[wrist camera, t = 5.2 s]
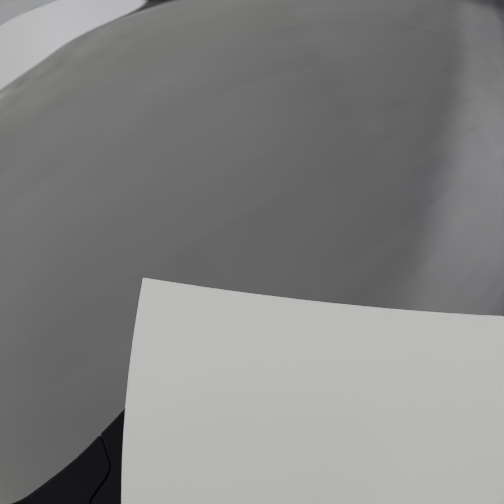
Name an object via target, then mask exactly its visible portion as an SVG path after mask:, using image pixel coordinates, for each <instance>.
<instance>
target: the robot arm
mask: <svg viewBox="0 0 504 504" xmlns="http://www.w3.org/2000/svg"><path fill="white" fill-rule="evenodd" d="M124 417H125V409H124V410H123V411H122V412H121V413H120V414H119V415H118V417H117V418H116V419H115V420H114V421H113V422H112V423H111V424H110V425H109V426H108V427H107V428H106V429H105V430H104V431H103V432H102V433H101V436H102V437H101V436H98V437H97V438H96V439H95V440H94V441H93V443H92V444H91V445H90V446H89V447H88V448H87V449H86V450H84V451H83V452H82V453H81V454H80V455H79V456H78V457H77V458H76V459H75V460H74V461H72V462H71V463H70V464H69V465H68V466H66V467H65V468H64V469H63V470H62V471H60V472H59V473H58V474H56V475H55V476H54V477H52V478H51V479H50V480H48V481H47V482H46V483H45V484H43V485H42V486H41V487H39V488H38V489H36V490H35V491H34V492H32V493H31V494H30V495H28V496H27V497H25V498H23V499H22V500H20V501H17V502H15V503H12V504H121V477H122V449H123V431H124Z"/></svg>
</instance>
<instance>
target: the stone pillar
mask: <svg viewBox="0 0 504 504" xmlns="http://www.w3.org/2000/svg"><path fill="white" fill-rule="evenodd" d="M121 504H504V316H488V315H470V314H453V313H439V312H425V311H412V310H400V309H388V308H377V307H366V306H356V305H346V304H336V303H327V302H318V301H309V300H300V299H291V298H283V297H275V296H267V295H259V294H251V293H244V292H236V291H229V290H222V289H214V288H207V287H200V286H194V285H187V284H180V283H174V282H167V281H161V280H155V279H148V278H143V281H142V287H141V292H140V298H139V304H138V310H137V316H136V323H135V329H134V336H133V343H132V351H131V358H130V367H129V375H128V384H127V394H126V405H125V417H124V431H123V449H122V477H121Z"/></svg>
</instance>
